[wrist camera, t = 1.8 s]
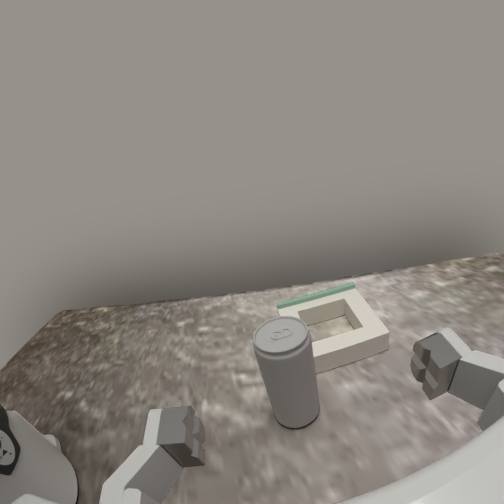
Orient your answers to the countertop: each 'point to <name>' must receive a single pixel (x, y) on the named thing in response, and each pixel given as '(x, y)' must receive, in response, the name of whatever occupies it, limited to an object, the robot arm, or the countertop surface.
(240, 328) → the countertop surface
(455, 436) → the countertop surface
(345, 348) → the socket block
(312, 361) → the beverage can
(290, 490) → the countertop surface
